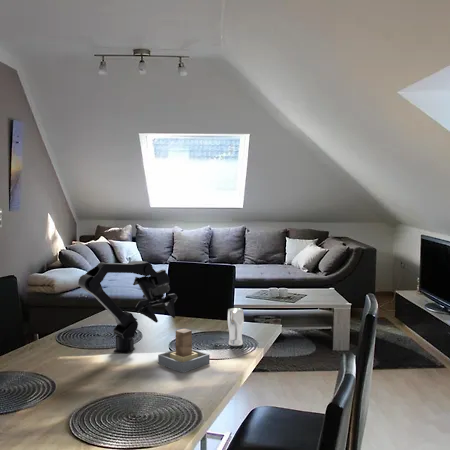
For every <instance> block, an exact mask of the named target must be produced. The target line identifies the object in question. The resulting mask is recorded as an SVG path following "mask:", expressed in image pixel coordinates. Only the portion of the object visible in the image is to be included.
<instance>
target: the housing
mask: <svg viewBox="0 0 450 450" xmlns="http://www.w3.org/2000/svg"><path fill="white" fill-rule="evenodd" d="M157 359H158V363H157V364H159V365H160V366H164V367H165V368H169V369H171V370H173V371H177V372H180V373H181V374H182V373H186V372H188V371H191V370H194V369H197V368H200V367H203V366H206V365H208V364H210V362H211V361H210V360H211V359H210V354H209V353H207V352H204V351H201V350H196V349H194V348H192V354H191V355H188V356H185V357H182V356H179V355H176V349H173V350H170V351H167V352H162V353H160V354H158V358H157Z"/></svg>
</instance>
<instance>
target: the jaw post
mask: <svg viewBox="0 0 450 450" xmlns="http://www.w3.org/2000/svg"><path fill="white" fill-rule="evenodd" d="M192 349H193V331H192V330H191V329H189V328H181V329H178V330H175V350H176V355H179V356H182V357H185V356H188V355H191V354H192Z"/></svg>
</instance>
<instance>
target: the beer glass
mask: <svg viewBox="0 0 450 450" xmlns="http://www.w3.org/2000/svg"><path fill="white" fill-rule="evenodd" d="M244 322H245V318H244V309H243V308H241V307H240V308H239V307H232V308H228V309H227V326H228V328H227V329H228V333H229V337H228V345H229V346H232V347H240V346H242V345H243V344H244V343H243V331H244V325H245V324H244Z"/></svg>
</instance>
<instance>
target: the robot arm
mask: <svg viewBox="0 0 450 450" xmlns="http://www.w3.org/2000/svg"><path fill="white" fill-rule="evenodd" d="M109 273H110V274H113V273H115V274H134V275H139V276H140V277H138V276H135V277H134V281H133V283H132V285H133V286H139V288H140V290H141V292H142V294H143V295H142V298H143V299H141V300H139V301H138V303H137V304H136V306H135V312H136V313H137V314H140V315H143V316H145V317H147V318H148V319H150V320H151V321H152V322H154V323H158V322H159V320H158V318H157V317H158V316H156V314H155V312H154V310H153V307H154V306H159V305H163V306H164V309H165V310H166V312H168V314H169V315H170V316H171V318H173V319H175V318H176V312H175V303H176V301H177V299H178V296H177V294H176V293H169V291H171V287H170V285H169V284H170V281H171V280H170V277H169V275H168V273H167V270H166V269H159V270H158V271H156V270H155V269H154V267H153V265H152V263H151V262H148V261H144V260H138V261H133V262H130V263H127V262H125V263H122V262H121V263H119V262H104V261H102V262H99V263H97V264H96V265H95V266H94V267H93V268H91V269H89V270H88V271H87V272H86V273H84V274H82V275H81V276H79V279H78V286H79V287H80V288H81V289H82V290H84V291H86V292H87V293H88V294H90V295H92V296H93V297H94V298H95V299H96V300H97V301H98V302H99V303H100V304H101V306H103V307H104V308H105V310H106V311H108V312H109V313H110V314H111V316H112V317H113V318H114V320H115V323H116V324H117V325H115V327H114V328H113V330H112V331H113V334H114V335H115V349H113V352H115V353H116V352H117V353H122V354H123V353H124V354H128V353H130V352H132V351H134V350H135V349H136V347H135V345H134V344H135V343H134V339H133V338H134V337H135V336H136V335H135V334H136V331H137V330H138V326H139V323H138V319H137V318H136V317H135V316H134V315H133V313H132V312H129V311H127V310H124V311H123V310H122V309H121V308H120V306H119V305H118V304H116V302H115V301H114V300H113V298H111V297H110V296H109V295H108V293H106V292H105V291H104V289H103V286H102V284H101V283H102V282H103V281H104V280H105V278H106V276H107V274H109ZM168 293H169V294H168ZM165 294H166V296H165Z"/></svg>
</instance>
